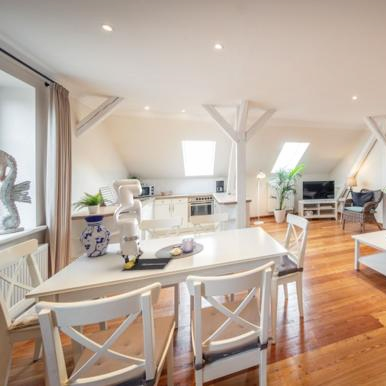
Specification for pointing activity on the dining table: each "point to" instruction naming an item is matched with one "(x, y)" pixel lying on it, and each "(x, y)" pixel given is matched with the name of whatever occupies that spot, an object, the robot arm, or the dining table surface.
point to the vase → (95, 237)
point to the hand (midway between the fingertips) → (132, 263)
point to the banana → (130, 263)
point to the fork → (152, 264)
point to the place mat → (149, 261)
